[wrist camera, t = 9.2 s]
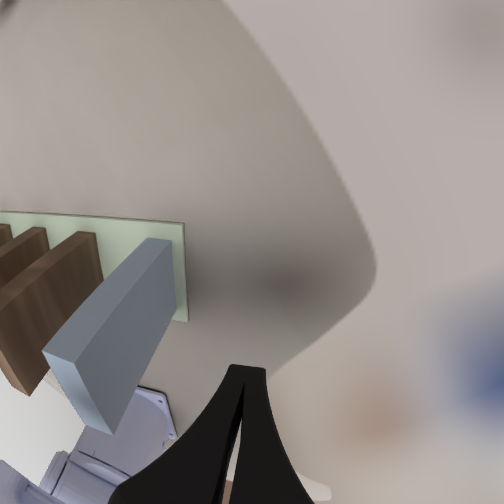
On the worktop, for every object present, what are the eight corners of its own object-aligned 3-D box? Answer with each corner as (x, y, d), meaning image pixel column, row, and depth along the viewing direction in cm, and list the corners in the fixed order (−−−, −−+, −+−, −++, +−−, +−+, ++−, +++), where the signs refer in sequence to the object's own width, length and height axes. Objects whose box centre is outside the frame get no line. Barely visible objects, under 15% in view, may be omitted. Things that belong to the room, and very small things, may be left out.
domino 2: (95, 232, 17) (-13, 323, 8) (107, 296, 19) (29, 396, 10) (77, 230, 17) (-29, 314, 8) (90, 293, 19) (12, 386, 10)
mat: (188, 319, 19) (187, 322, 19) (-27, 266, 21) (-28, 267, 21) (183, 223, 16) (181, 225, 16) (-41, 209, 18) (-43, 210, 18)
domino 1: (45, 227, 17) (-53, 299, 8) (59, 285, 20) (-18, 366, 11) (33, 226, 17) (-61, 293, 8) (46, 282, 20) (-29, 357, 11)
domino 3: (171, 240, 17) (73, 363, 8) (176, 309, 19) (113, 435, 10) (147, 237, 17) (41, 350, 8) (154, 305, 19) (85, 424, 10)
